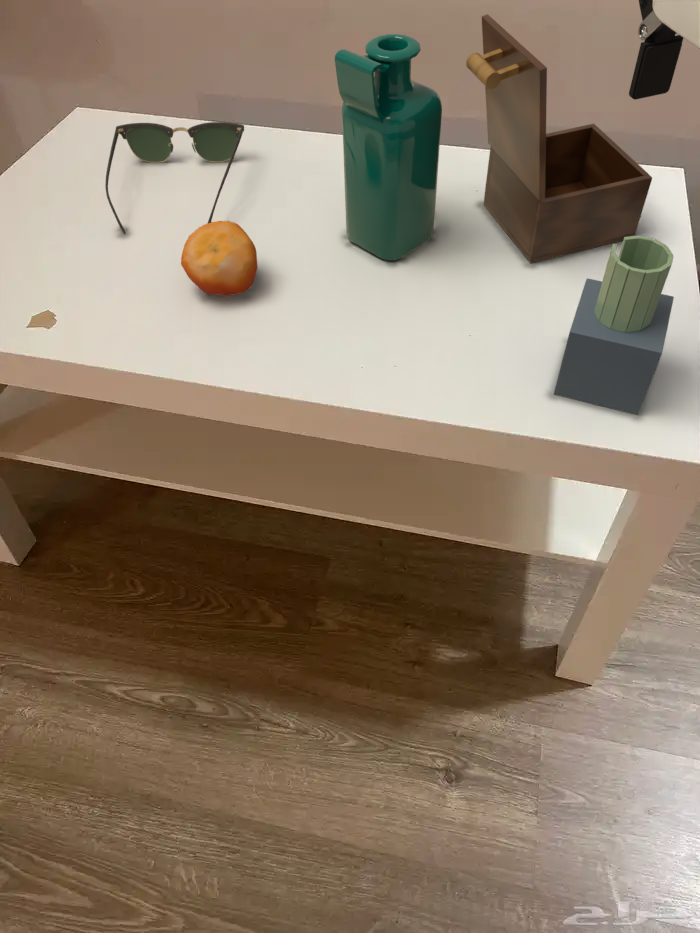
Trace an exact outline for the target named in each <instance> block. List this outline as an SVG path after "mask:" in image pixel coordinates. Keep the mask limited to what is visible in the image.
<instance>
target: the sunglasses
mask: <svg viewBox="0 0 700 933" xmlns="http://www.w3.org/2000/svg"><path fill="white" fill-rule="evenodd" d="M177 132H185V133H187V134H188V135H189V137H190V138H192V143H191V147H192V149H193V152H194V153H197V154H198V155H199V157H201V158H202V160H204V161H206V162H210V163H224V162H227V161H228V164H227V167H226V169H225V172H224V175H223V177H222V180H221V183H220V185H219V187H218V191H217V194H216V196H215V199H214V203H213V206H212V209H211V211H210V215H209V218H208V221H207V223H211V222H212V220H213V217H214V213H215V210H216V206H217V203H218V200H219V198H220V195H221V192H222V190H223V187H224V185H225V182H226V179H227V177H228V174H229V171H230V169H231V167H232V165H233V164H232V163H233V161H234V158H235V156H236V153H237V150H238V147H239V145H240V143H241V140H242V136H243V134H244V132H245V125H244V124H240V123H235V122H225V121H211V122H204V123H199V124H195V125H193V126H191V127H189V128H186V127H182V126H179V127H178V126H177V127H175V128H172V127H170V126H168V125H164V124H161V123H155V122H131V123H125V124H120V125H116V126H115V131H114V135H113V138H112V143H111V147H110V152H109V157H108V162H107V167H106V174H105V184H104V185H105V188H104V189H105V195H106V197H107V198H106V199H107V202H108V204H109V207H110V209H111V211H112V214H113V215H114V217H115V220H116V222H117V224H118V226H119V228H120V230H121V233H123V234H125V233H126V230H125V228H124V226H123V224H122V222H121V220H120V219H119V216H118V214H117V212H116V210H115V207H114V205H113V203H112V200H111V197H110V194H109V180H110V174H111V173H110V172H111V167H112V162H113V158H114V156H115V155H114V154H115V150H116V145H117V141H118V138H119V135H120V136H121V137H122V139H123V140H126V142H127V145H128V146H129V149H130V151H131V153H132V154H133V155H134V156H135V157H136V158H137V159H139V160H140V161H144V162H147V163H152V164H155V163H164V162H167V160H168V159H169V158H170V156H171V155H172V153H173V152H174V144H173V142H172V138H173V137H174V134H175V133H177Z"/></svg>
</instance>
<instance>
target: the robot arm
mask: <svg viewBox="0 0 700 933" xmlns="http://www.w3.org/2000/svg"><path fill="white" fill-rule="evenodd" d="M638 4H639V10H640V15H641V20H642V22H640V23H639V26H638V29H637V30H638V31H637V34H638V37H639V40H640V41H643V42H640V46H639V49H638V52H637V58H636V62H635V67H634V70H633V74H632V78H631V82H630V87H629V91H628V96H629V97H630V98H632V100H634V101H635V100H640V99H645V98H650V97H655V96H659V95H664V94H667V93H668V92H669V91H670V88H671V86H672V82H673V78H674V75H675V71H676V67H677V64H678V61H679V57H680V54H681V50H682V48H683V41H684V39H685V40H686V41H687V42H689V43H690V44H692V45H693V46H695V47H696V48H698V49H699V50H700V0H638Z"/></svg>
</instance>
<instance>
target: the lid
mask: <svg viewBox="0 0 700 933" xmlns="http://www.w3.org/2000/svg"><path fill="white" fill-rule="evenodd" d="M481 31H482V33H481V34H482V35H481V36H482V52H483V54H480V53H479V52H472V53H470V54H469V56H468V57H467V58H466V61H465V66H466V68H467V69H468V70H469V71H470V72H471V73H472V74H473V75H474V76H475V77H476V79H478V80H479V82H481V83H482V84H483V85H484V88H485V89H484V90H485V110H486V111H485V112H486V128H487V144H488V145H489V146H491V147H492V148H493V149H494V150H495V151H496V153H497V154H498V155H499V156H500V157H501V158H502V159H503V161H504V162H505V163H506V164H507V165H508V166H509V167H510V168H511V170H512V171H513V172H514V173H515V174H516V175H517V176H518V177H519V179H520V180H521V181H522V182H523V183H524V184H525V185H526V186H527V188H528V189H529V190H530V191H531V192H532V193H533V194H534V196H535V197H536V198H537V199H538V200H539V201H540V200H543V199H545V173H546V134H547V101H548V100H547V98H548V95H547V94H548V93H547V91H548V88H547V87H548V86H547V85H548V68H547V66H546V65H545V64H544V63H542V62H541V60H539V59H538V58H537V57H536V56H535V55H534V54H533V53H531V52H530V51H529V50H528V49H527V48H526V47H525V46H524V45H523V44H521V43H520V42H519V41H518V40H517V39H516V38H515V37H514V36H512V35H511V33H509V32H508V31H507V30H506V29H505V28H504V27H503V26H501V25H500V23H498V22H497V21H496V20H495V19H494V18H492V16H491V15H489V13H487V14H484V15H481Z"/></svg>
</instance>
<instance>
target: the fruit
mask: <svg viewBox="0 0 700 933" xmlns="http://www.w3.org/2000/svg"><path fill="white" fill-rule="evenodd" d="M180 265H181V267H182V268H183V271H184V272H185V274H186V275H187V278H188V279H190V281H191V282H192V283H193V284H194V285H195V286H197V287H198V289H199V290H200V291H202V292H203V293H205V294H207V295H212V296H226V297H227V296H234V295H235V296H236V295H239V294H244V293H245V292H247V291H248V290H249V289H250V288H252V286H253V284H254V281H255V278H256V275H257V272H258V255H257V249H256V245H255V243H254V242H253V240H252V239H251V238H250V236H249V235H248V234H247V232H246V231H245V230H244V229H243V228H242V227H241V225H240V224H238V223H237V222H234V221H233V222H232V221H227V220H217V221H211V223H208V222H207V223H205V224H202V225H201V226H199V227H197V228H196V229H195V230H194V231H193V232H192V233H190V234H189V235H188V236H187V239H186V240H185V243H184V246H183V249H182V253H181V258H180Z"/></svg>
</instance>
